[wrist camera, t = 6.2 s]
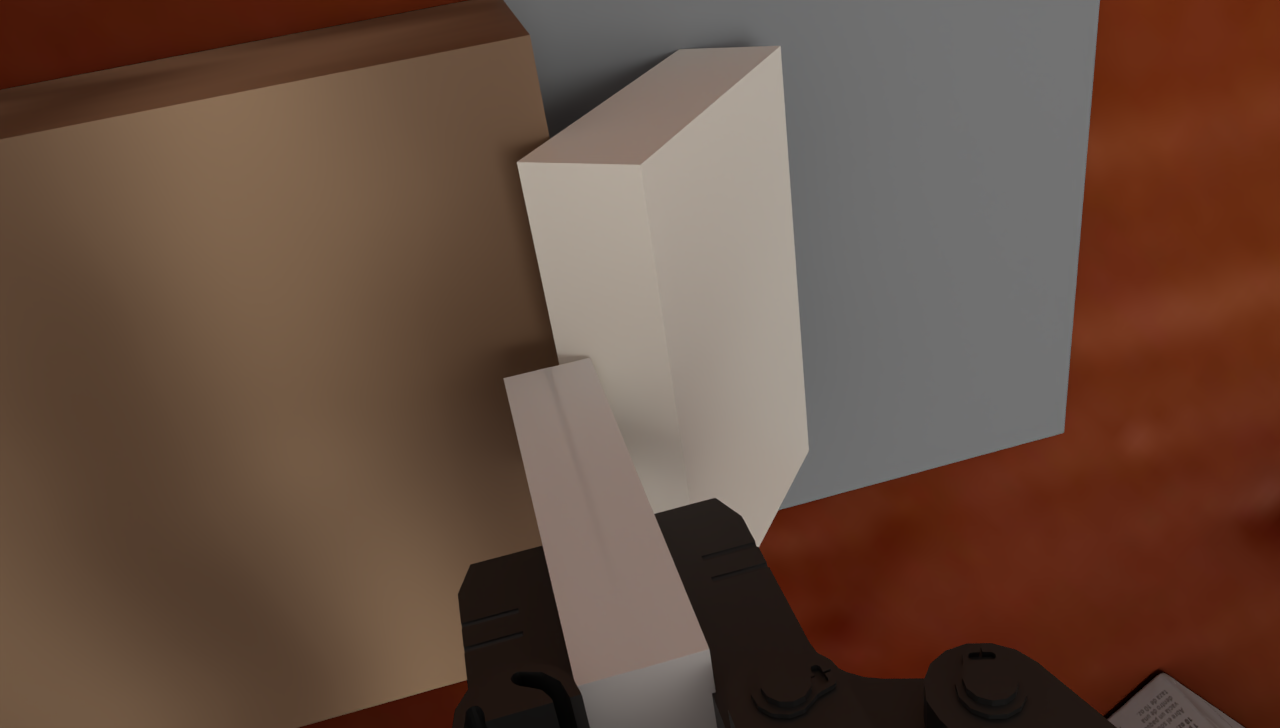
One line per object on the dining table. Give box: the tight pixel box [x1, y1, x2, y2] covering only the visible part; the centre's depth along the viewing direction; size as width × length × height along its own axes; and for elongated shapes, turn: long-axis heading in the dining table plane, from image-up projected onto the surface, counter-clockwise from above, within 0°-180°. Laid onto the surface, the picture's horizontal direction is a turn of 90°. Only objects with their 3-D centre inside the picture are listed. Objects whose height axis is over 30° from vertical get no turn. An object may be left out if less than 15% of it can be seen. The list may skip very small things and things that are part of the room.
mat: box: [504, 0, 1100, 510], centre depth 22 cm, size 12×14×1 cm
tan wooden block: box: [0, 0, 559, 728], centre depth 18 cm, size 16×12×4 cm
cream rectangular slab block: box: [517, 46, 809, 547], centre depth 19 cm, size 6×9×2 cm
